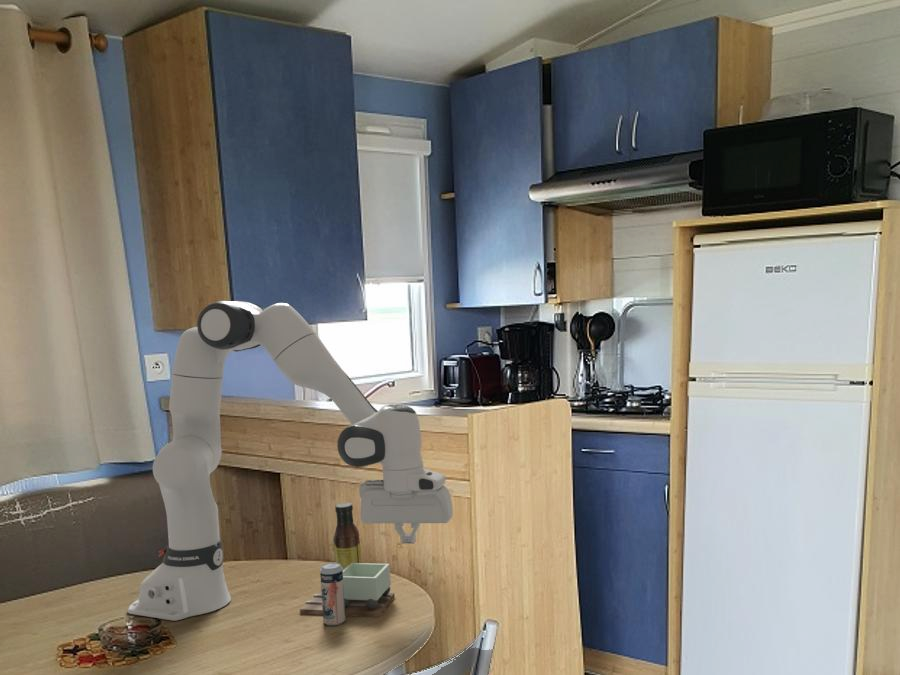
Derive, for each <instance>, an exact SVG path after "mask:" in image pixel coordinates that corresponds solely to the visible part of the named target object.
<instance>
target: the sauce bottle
mask: <svg viewBox="0 0 900 675" xmlns="http://www.w3.org/2000/svg"><path fill="white" fill-rule="evenodd" d="M353 510H354V507H353V503H352V502H342V503H337V504H335V510H334V511H335V512H336V513H335V514H336V520H337V521H336V528H335V532H334V537H333V550H334V552H333V553H334V563H340V565H341V567H342V568H343V570H344V569H345V568H346V567H347V566H348V565H349V564H351V563H363V561H362V560H363V559H362V548H361V540H360V532H359V529H358V526H356V525H355V523H354V517H353Z"/></svg>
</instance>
